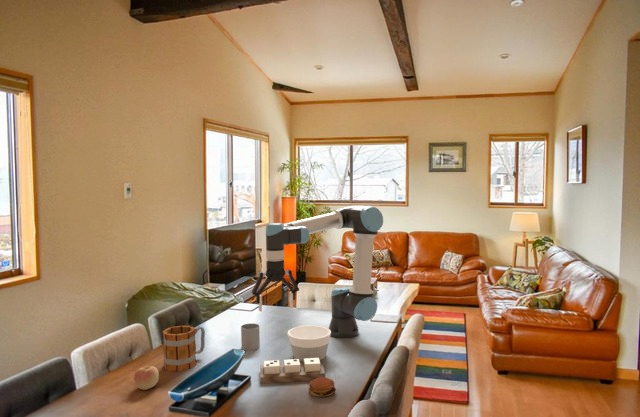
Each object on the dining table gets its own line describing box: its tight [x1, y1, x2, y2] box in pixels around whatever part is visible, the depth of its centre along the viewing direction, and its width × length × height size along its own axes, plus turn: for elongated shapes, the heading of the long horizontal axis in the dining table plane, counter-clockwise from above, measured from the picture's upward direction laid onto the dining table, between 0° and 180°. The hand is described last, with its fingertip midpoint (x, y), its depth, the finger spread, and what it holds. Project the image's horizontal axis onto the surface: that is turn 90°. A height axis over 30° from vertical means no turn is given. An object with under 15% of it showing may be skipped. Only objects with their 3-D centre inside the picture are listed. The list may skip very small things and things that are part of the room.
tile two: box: [283, 358, 301, 373], centre depth 191 cm, size 6×6×4 cm
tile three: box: [263, 359, 280, 374], centre depth 190 cm, size 6×6×4 cm
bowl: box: [286, 324, 331, 362], centre depth 212 cm, size 19×19×11 cm
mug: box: [162, 325, 206, 372], centre depth 206 cm, size 20×14×15 cm
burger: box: [308, 377, 337, 398], centre depth 176 cm, size 10×9×5 cm
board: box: [259, 361, 326, 385], centre depth 192 cm, size 25×12×2 cm, turn 97°
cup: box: [240, 323, 261, 351], centre depth 224 cm, size 8×8×10 cm
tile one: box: [303, 358, 321, 372], centre depth 192 cm, size 6×6×4 cm
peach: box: [133, 365, 160, 391], centre depth 182 cm, size 9×9×8 cm
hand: (276, 309), depth 206 cm, fingers open, 13 cm apart
